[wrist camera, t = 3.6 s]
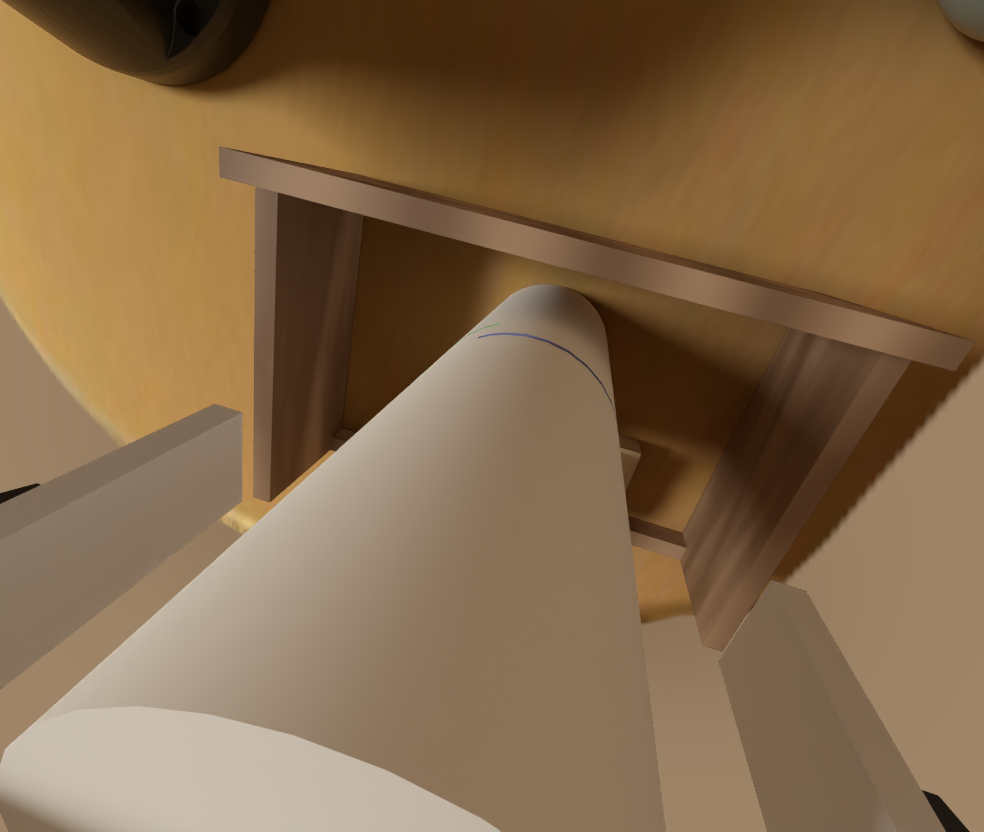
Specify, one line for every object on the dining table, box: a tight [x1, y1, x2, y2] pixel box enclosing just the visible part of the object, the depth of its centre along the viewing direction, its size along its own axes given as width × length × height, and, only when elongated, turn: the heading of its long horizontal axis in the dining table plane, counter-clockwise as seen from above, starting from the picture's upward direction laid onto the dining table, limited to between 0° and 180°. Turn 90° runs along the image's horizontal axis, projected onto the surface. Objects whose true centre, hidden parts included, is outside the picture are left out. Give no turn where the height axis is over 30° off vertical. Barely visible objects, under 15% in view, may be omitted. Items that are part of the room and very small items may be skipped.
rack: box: [219, 147, 975, 652], centre depth 24 cm, size 26×17×10 cm, turn 77°
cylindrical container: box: [0, 284, 666, 832], centre depth 16 cm, size 7×7×25 cm
